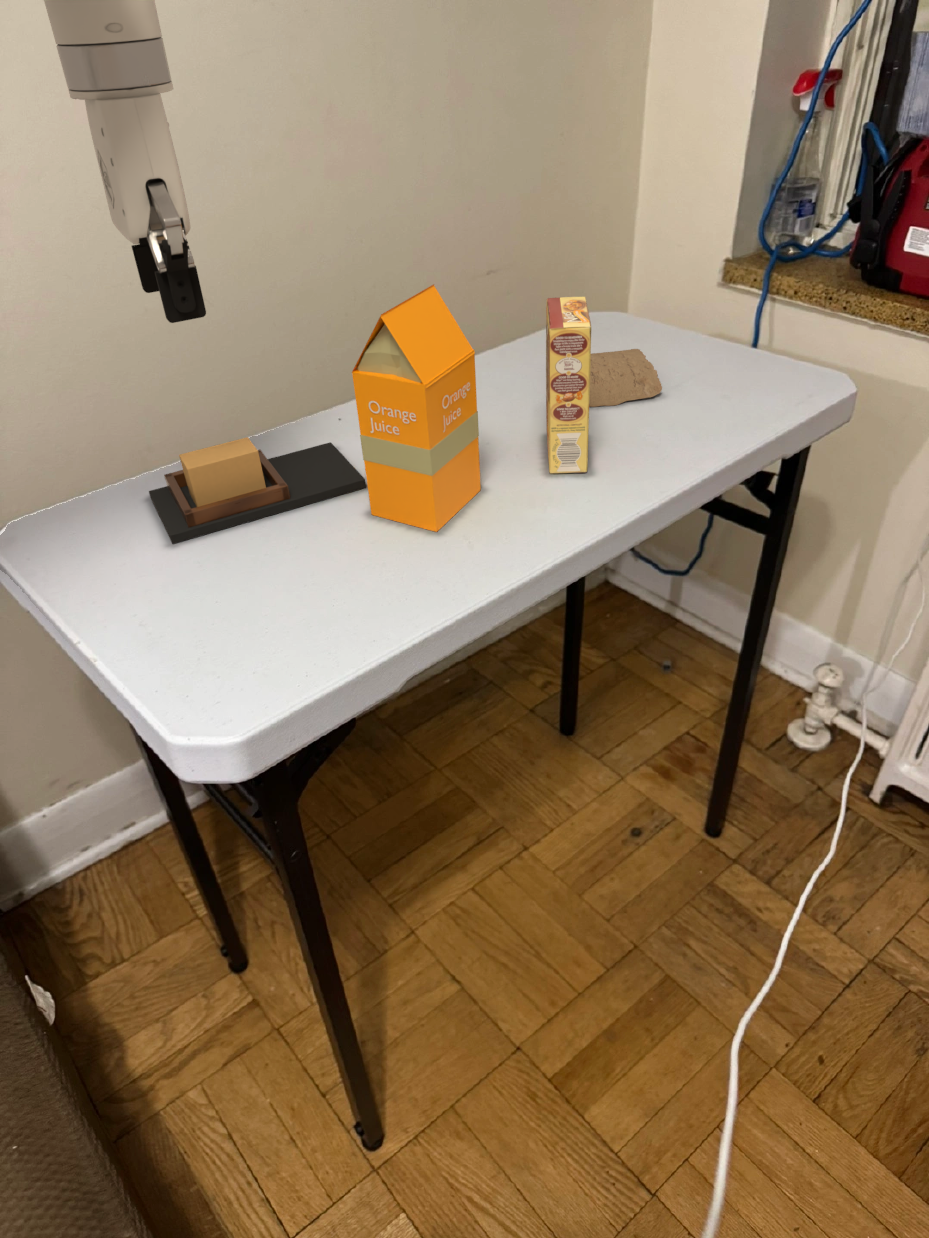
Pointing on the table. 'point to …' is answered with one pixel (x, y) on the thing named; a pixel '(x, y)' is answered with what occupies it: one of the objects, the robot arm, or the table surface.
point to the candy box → (567, 383)
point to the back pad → (258, 492)
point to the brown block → (222, 471)
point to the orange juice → (418, 414)
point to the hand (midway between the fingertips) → (174, 303)
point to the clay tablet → (621, 378)
